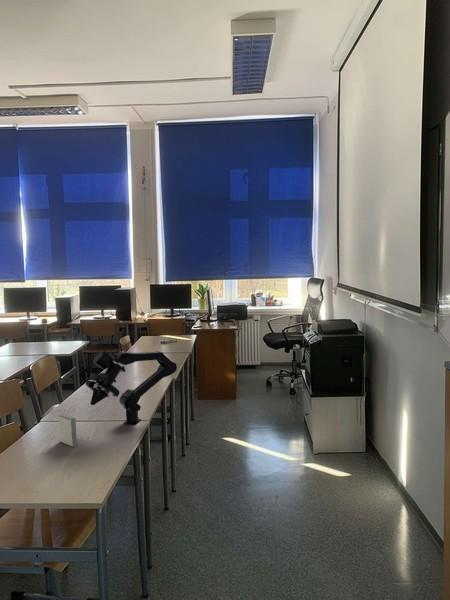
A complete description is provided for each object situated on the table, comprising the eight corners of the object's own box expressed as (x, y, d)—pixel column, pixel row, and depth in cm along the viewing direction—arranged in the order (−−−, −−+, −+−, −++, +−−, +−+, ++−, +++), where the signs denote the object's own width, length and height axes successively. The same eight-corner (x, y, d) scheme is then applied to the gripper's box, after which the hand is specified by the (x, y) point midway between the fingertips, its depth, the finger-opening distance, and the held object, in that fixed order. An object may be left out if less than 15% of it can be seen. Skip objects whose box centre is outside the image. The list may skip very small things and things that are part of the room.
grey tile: (63, 440, 196) (62, 413, 195) (77, 445, 190) (75, 418, 189) (59, 442, 194) (57, 415, 193) (72, 447, 188) (71, 419, 187)
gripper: (87, 363, 209) (67, 392, 202) (112, 367, 198) (92, 399, 190) (102, 375, 216) (84, 404, 208) (127, 381, 204) (109, 411, 197)
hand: (91, 404), depth 201 cm, fingers closed
